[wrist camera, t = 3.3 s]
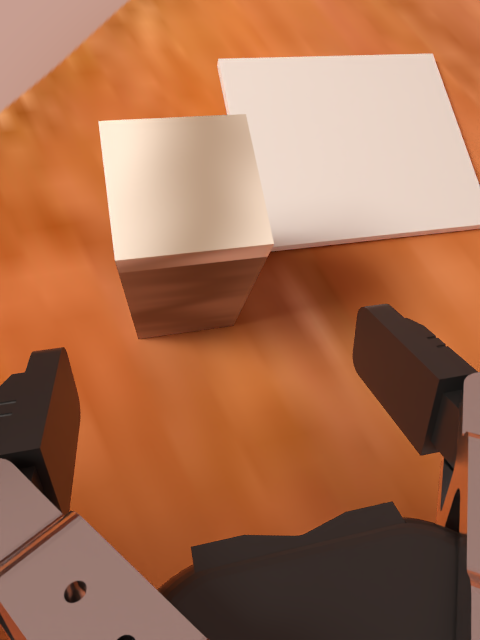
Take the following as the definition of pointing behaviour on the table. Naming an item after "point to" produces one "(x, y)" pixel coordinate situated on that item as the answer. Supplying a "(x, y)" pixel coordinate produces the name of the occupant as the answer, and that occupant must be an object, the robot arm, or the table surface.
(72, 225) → the table surface
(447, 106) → the white mat
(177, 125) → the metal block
